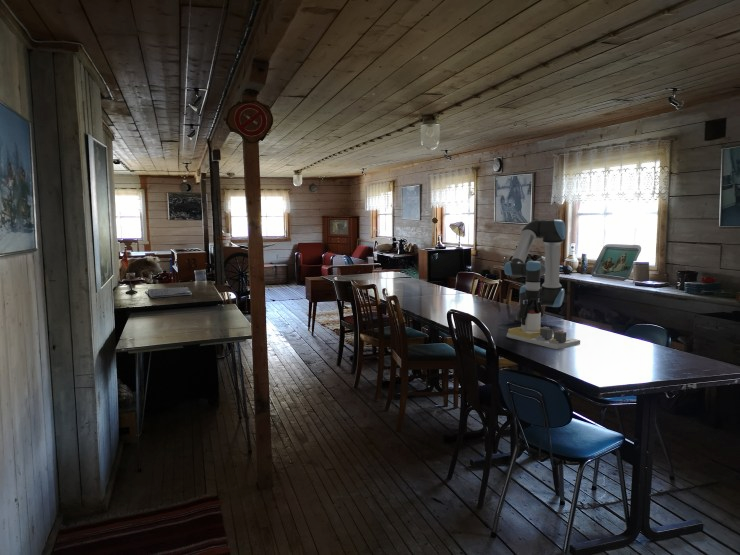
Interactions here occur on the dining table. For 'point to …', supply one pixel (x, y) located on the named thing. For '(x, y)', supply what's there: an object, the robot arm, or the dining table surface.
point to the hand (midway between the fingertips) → (530, 329)
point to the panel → (539, 338)
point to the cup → (533, 321)
